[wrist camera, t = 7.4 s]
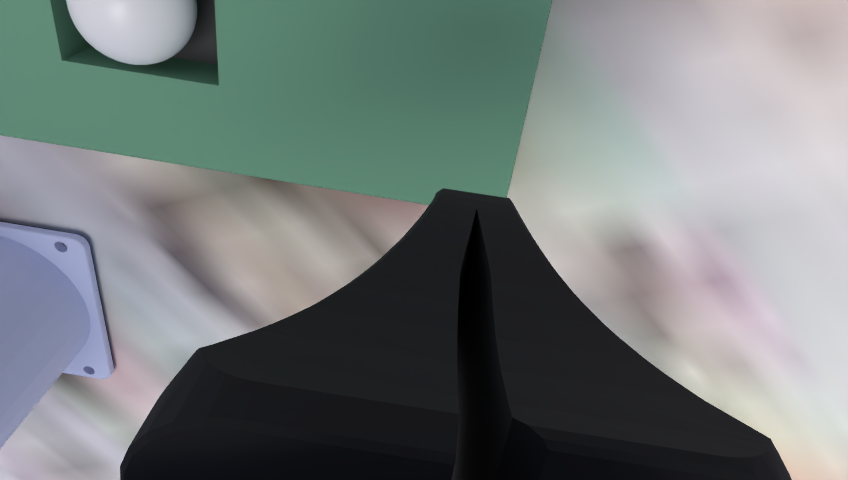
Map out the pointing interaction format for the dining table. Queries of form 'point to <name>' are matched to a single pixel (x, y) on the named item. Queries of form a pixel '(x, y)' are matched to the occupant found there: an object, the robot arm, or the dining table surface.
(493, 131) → the putting mat
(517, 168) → the dining table surface
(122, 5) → the ball
